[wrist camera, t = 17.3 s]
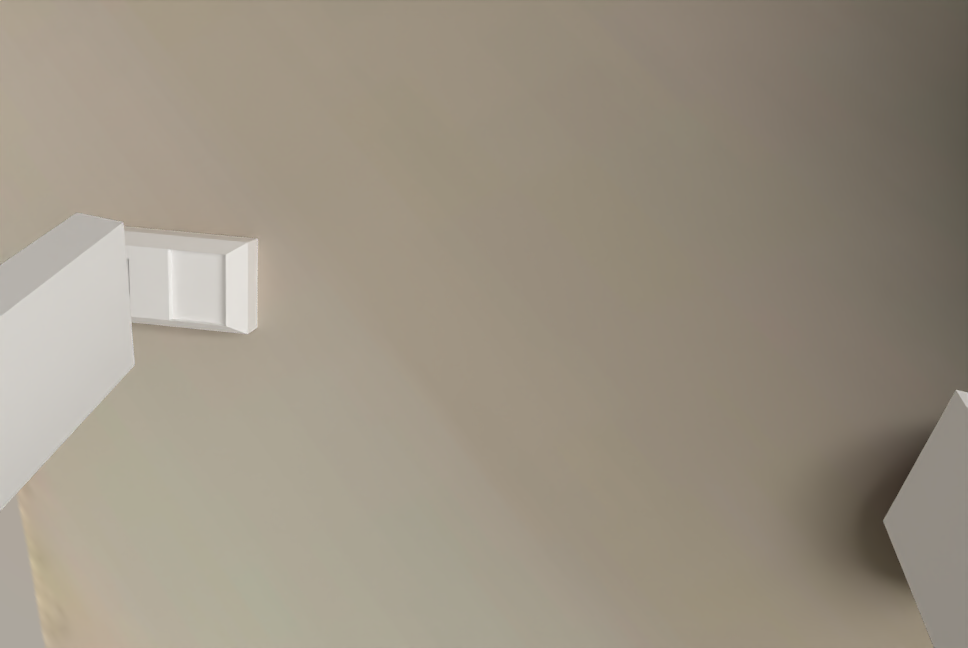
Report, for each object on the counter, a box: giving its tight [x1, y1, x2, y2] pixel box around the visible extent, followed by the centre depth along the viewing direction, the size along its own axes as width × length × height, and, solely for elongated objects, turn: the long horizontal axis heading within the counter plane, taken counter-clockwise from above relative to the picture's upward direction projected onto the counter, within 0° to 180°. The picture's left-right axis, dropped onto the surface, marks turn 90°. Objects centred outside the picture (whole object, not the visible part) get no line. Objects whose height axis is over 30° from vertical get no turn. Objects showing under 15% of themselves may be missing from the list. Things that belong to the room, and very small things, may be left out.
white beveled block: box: [124, 226, 258, 334], centre depth 44 cm, size 5×9×3 cm, turn 86°
